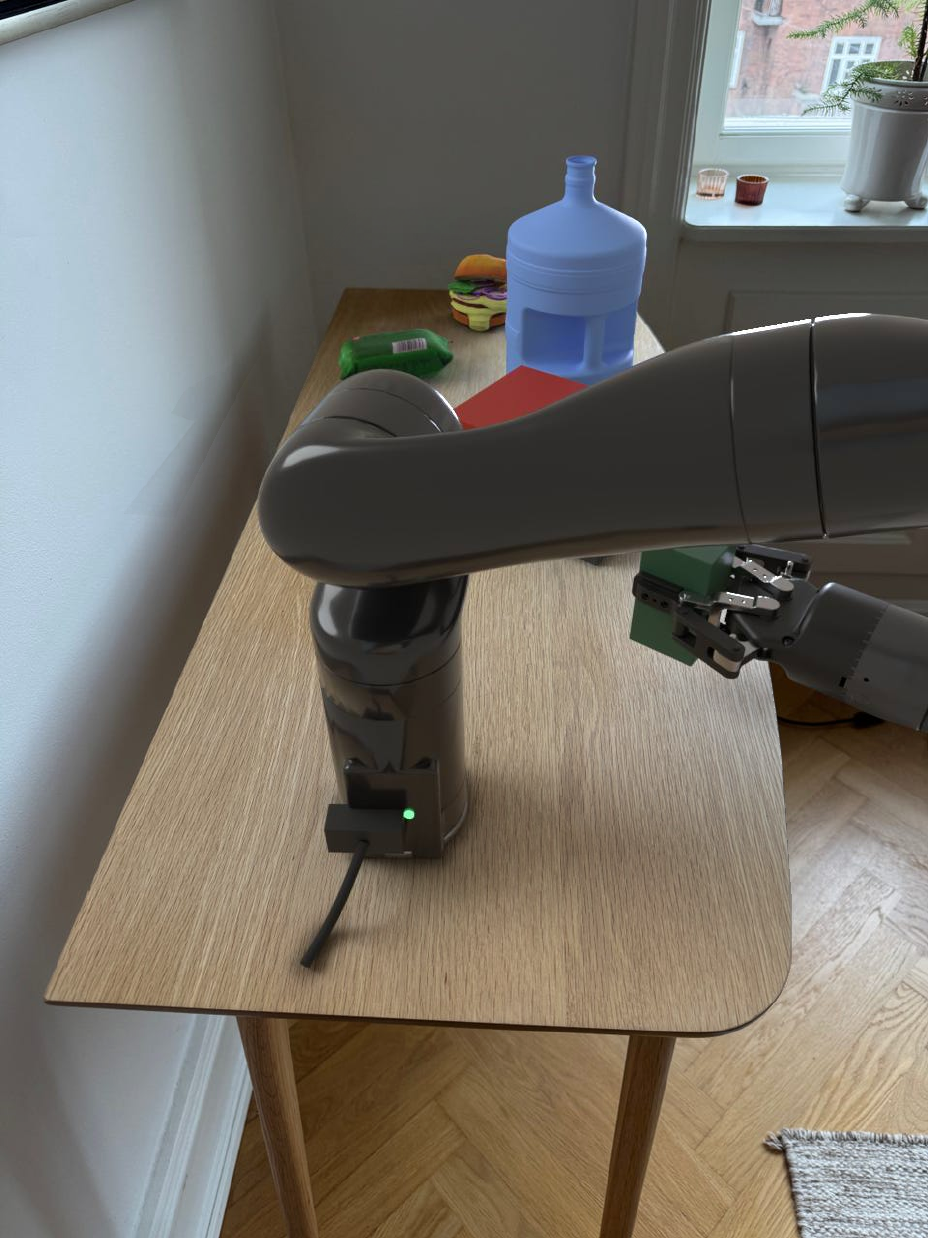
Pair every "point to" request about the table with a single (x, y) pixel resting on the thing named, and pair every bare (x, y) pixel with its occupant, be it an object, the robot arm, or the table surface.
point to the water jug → (574, 284)
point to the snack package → (396, 353)
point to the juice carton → (693, 573)
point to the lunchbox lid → (514, 397)
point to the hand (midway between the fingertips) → (652, 566)
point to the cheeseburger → (480, 292)
